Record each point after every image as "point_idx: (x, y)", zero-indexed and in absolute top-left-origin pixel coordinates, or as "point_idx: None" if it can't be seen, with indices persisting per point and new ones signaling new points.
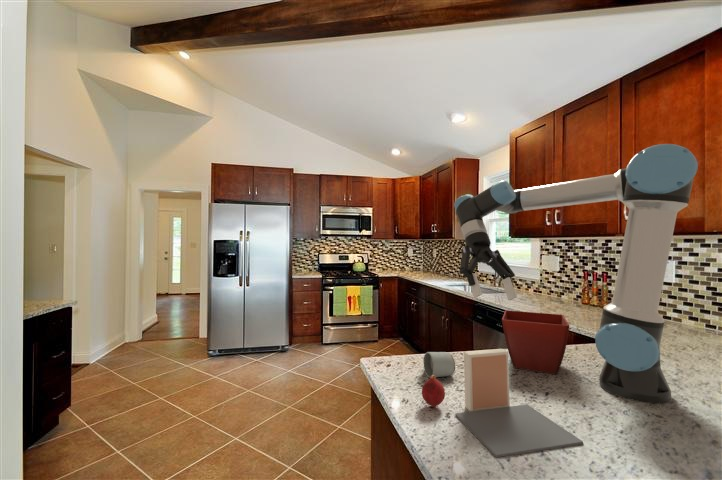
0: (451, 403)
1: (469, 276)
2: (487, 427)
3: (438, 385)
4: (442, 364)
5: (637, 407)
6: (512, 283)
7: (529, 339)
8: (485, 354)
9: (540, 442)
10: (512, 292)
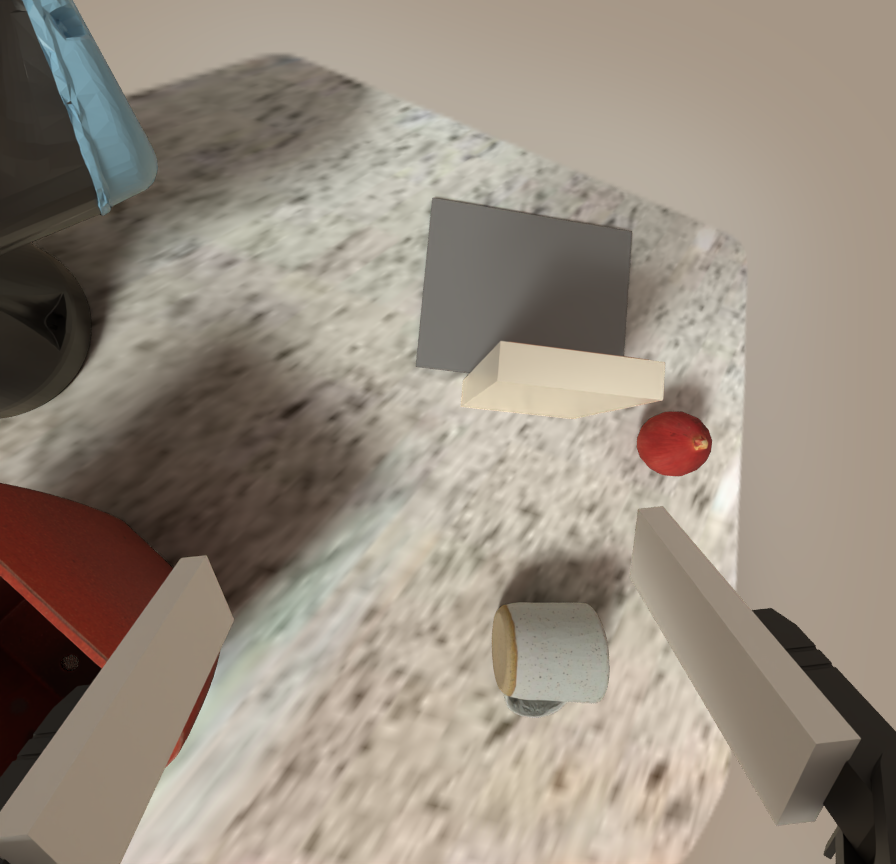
0: (595, 447)
1: (871, 722)
2: (587, 312)
3: (684, 421)
4: (561, 611)
5: (116, 256)
6: (22, 755)
7: (128, 596)
8: (596, 355)
9: (521, 228)
10: (186, 606)
